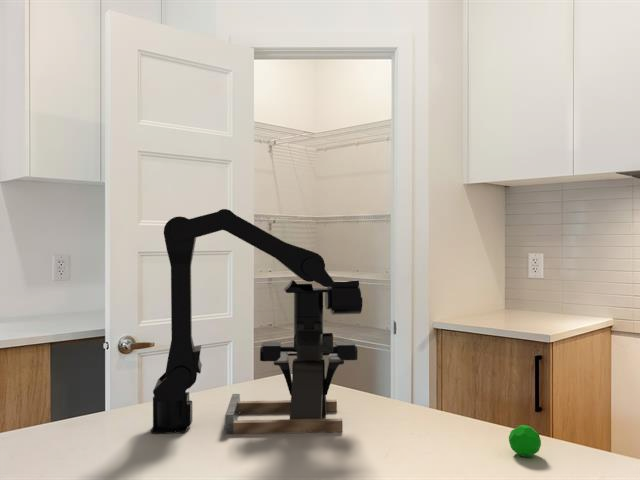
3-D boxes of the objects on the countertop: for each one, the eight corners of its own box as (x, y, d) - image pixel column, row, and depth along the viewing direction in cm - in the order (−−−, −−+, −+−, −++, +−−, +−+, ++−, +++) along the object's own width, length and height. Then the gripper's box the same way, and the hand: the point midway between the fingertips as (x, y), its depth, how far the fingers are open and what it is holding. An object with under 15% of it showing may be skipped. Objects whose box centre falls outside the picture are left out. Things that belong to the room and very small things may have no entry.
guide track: (228, 433, 106) (227, 423, 106) (235, 410, 120) (235, 401, 120) (342, 431, 108) (342, 420, 108) (336, 409, 122) (336, 399, 122)
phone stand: (298, 412, 119) (297, 354, 119) (327, 414, 118) (327, 355, 118) (289, 427, 110) (288, 364, 110) (320, 428, 109) (320, 365, 109)
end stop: (225, 434, 106) (225, 414, 106) (232, 410, 120) (232, 393, 120) (233, 433, 107) (233, 414, 107) (239, 410, 121) (239, 393, 120)
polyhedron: (547, 457, 95) (547, 428, 95) (527, 463, 93) (527, 433, 93) (522, 447, 100) (522, 419, 100) (502, 453, 97) (502, 424, 97)
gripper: (258, 321, 106) (258, 407, 106) (361, 321, 107) (361, 406, 107) (261, 313, 117) (261, 391, 117) (354, 312, 118) (354, 389, 118)
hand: (308, 394), depth 114 cm, fingers open, 6 cm apart
